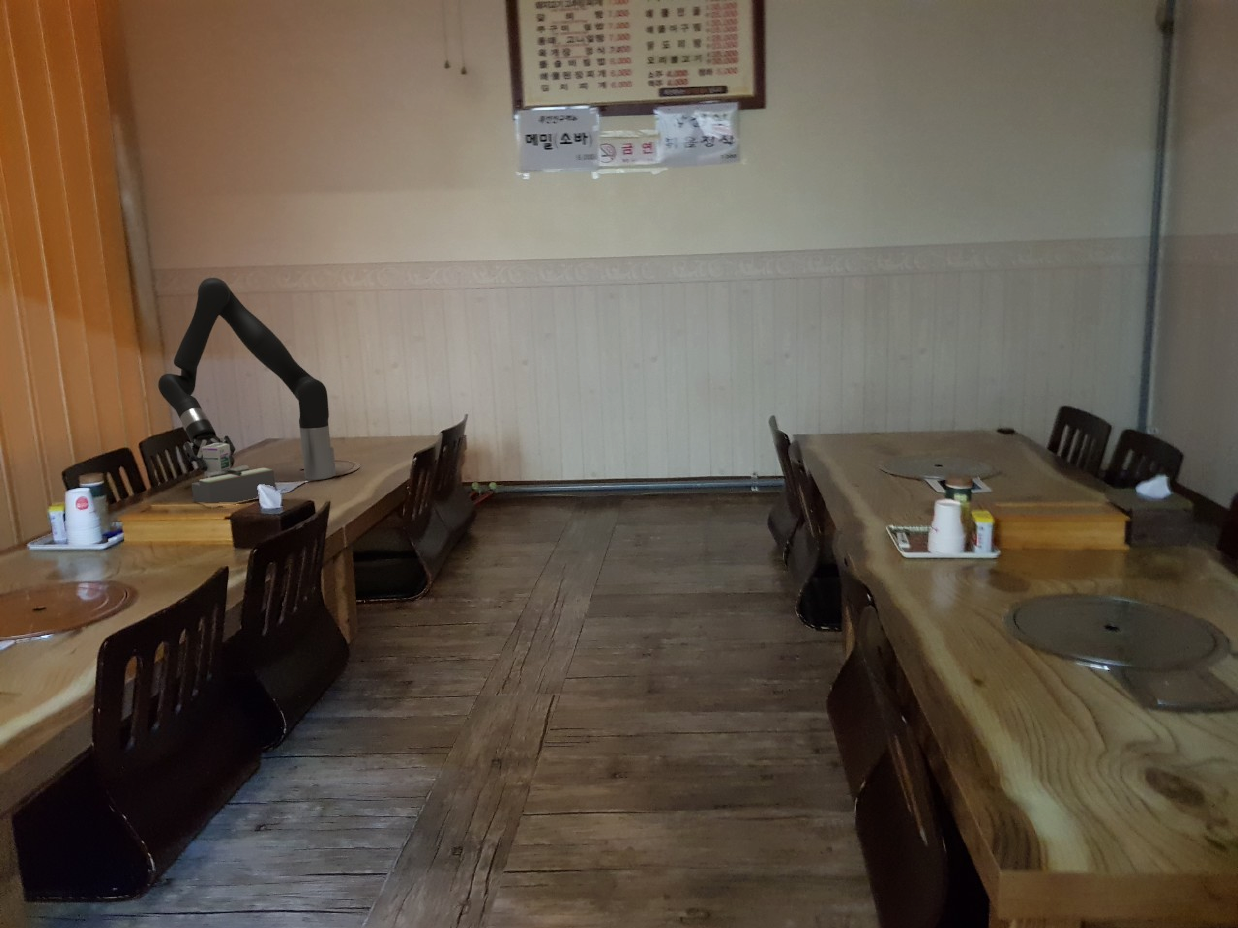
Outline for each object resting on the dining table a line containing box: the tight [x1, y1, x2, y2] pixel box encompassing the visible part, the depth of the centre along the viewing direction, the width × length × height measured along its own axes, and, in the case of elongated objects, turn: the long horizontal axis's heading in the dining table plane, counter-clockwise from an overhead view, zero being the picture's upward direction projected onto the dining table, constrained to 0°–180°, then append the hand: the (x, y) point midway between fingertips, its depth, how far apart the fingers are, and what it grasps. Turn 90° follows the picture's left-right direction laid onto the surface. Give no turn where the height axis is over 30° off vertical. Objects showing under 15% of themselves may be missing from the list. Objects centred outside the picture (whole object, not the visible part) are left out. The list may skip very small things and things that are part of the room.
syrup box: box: [202, 443, 232, 479], centre depth 300 cm, size 6×6×14 cm
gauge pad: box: [207, 464, 250, 478], centre depth 294 cm, size 12×8×8 cm
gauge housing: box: [191, 467, 276, 503], centre depth 295 cm, size 20×13×8 cm, turn 137°
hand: (219, 467), depth 299 cm, fingers closed on syrup box, 8 cm apart
